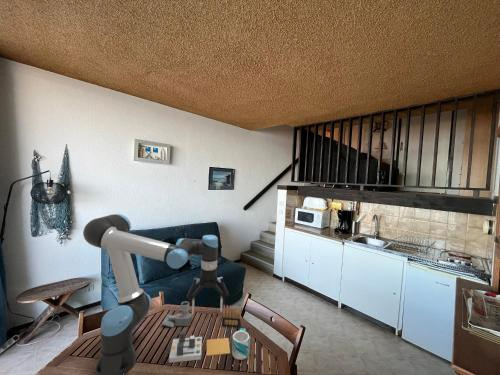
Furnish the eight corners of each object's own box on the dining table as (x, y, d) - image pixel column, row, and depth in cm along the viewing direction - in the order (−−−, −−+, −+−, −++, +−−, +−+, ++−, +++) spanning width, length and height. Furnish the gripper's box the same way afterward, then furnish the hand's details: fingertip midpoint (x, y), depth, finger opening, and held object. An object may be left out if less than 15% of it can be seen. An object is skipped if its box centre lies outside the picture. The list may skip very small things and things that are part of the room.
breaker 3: (188, 348, 106) (189, 339, 106) (189, 343, 109) (189, 335, 108) (194, 347, 106) (194, 338, 106) (194, 343, 109) (195, 335, 109)
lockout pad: (206, 356, 104) (206, 355, 104) (206, 340, 114) (206, 339, 114) (230, 353, 106) (230, 352, 106) (228, 338, 116) (228, 337, 116)
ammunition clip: (240, 325, 127) (241, 304, 127) (240, 327, 125) (241, 306, 125) (222, 324, 128) (222, 303, 127) (221, 326, 126) (222, 305, 125)
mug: (230, 358, 104) (231, 340, 103) (234, 339, 116) (235, 324, 115) (248, 360, 103) (248, 342, 103) (250, 341, 115) (251, 325, 115)
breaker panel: (168, 362, 100) (169, 357, 100) (173, 343, 112) (173, 338, 112) (200, 359, 103) (201, 354, 102) (201, 340, 114) (201, 336, 114)
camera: (188, 308, 122) (161, 307, 122) (188, 329, 123) (161, 328, 123) (193, 299, 131) (167, 298, 131) (192, 319, 131) (167, 318, 131)
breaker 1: (179, 342, 109) (179, 334, 109) (179, 339, 112) (179, 331, 111) (184, 342, 110) (184, 334, 109) (185, 338, 112) (185, 330, 112)
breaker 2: (176, 355, 101) (176, 347, 101) (177, 351, 104) (177, 342, 104) (182, 355, 102) (182, 346, 101) (183, 350, 104) (183, 342, 104)
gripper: (181, 272, 102) (179, 317, 102) (235, 270, 106) (233, 314, 107) (183, 265, 109) (181, 308, 110) (233, 264, 114) (231, 305, 115)
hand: (207, 311), depth 109 cm, fingers open, 13 cm apart
